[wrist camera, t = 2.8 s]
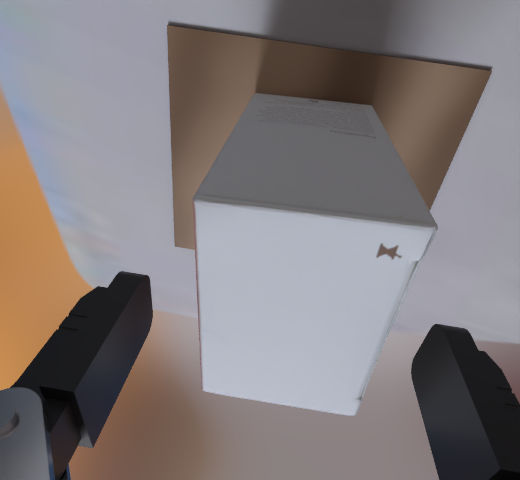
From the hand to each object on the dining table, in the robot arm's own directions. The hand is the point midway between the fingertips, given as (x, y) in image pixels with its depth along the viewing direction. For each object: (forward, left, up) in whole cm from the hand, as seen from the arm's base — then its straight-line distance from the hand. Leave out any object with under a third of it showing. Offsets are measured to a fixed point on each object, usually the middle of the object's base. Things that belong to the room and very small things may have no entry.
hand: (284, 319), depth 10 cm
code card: (0, 0, -10) cm, 10 cm away
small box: (0, 0, -10) cm, 10 cm away
